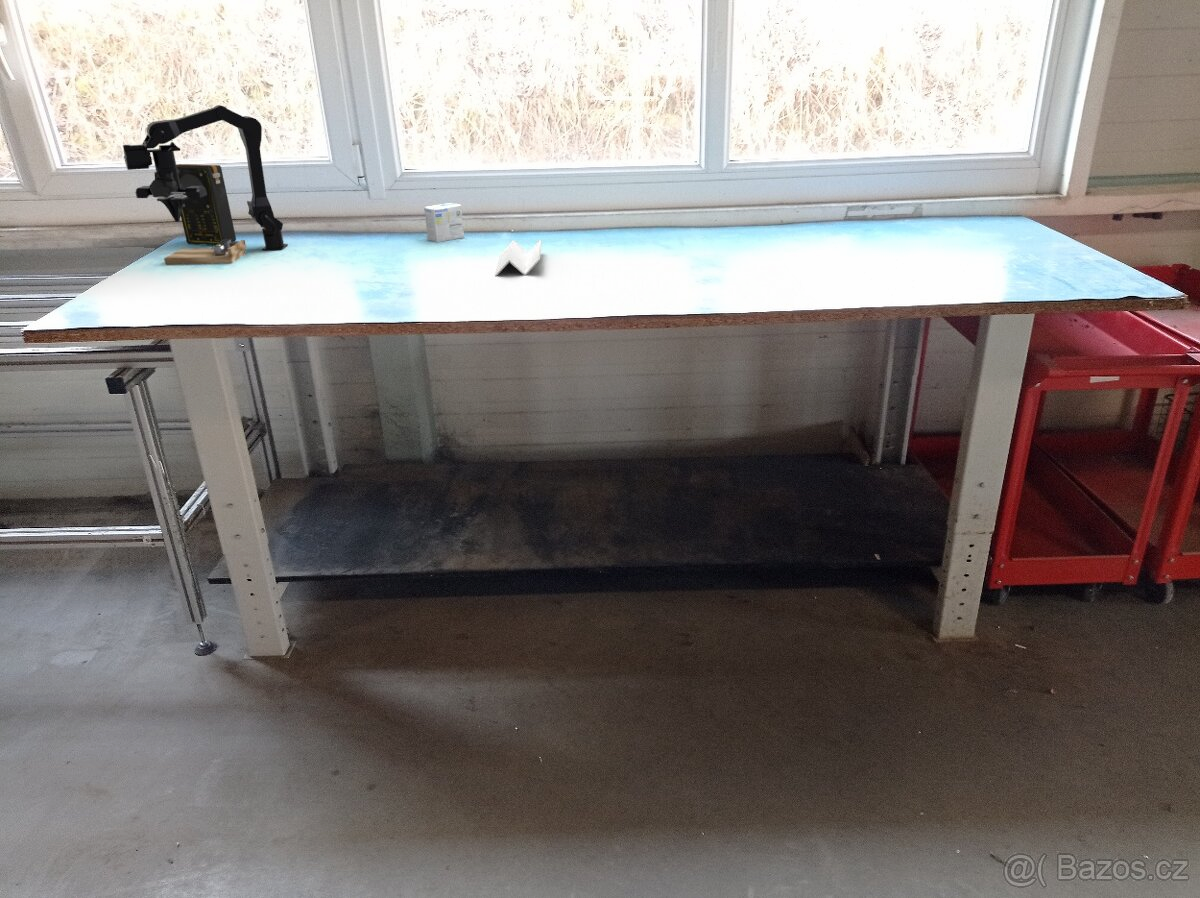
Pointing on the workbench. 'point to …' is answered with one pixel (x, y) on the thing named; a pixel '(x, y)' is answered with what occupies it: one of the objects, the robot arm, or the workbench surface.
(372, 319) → the workbench surface
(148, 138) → the robot arm
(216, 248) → the bar
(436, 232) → the light bulb box
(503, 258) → the z bracket
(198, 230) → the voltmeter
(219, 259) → the door board
